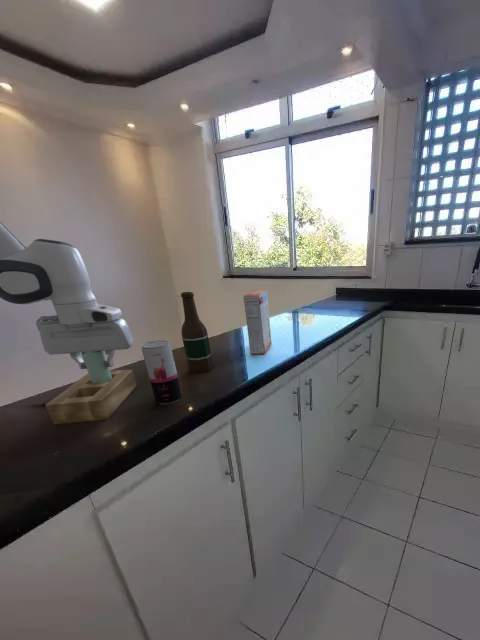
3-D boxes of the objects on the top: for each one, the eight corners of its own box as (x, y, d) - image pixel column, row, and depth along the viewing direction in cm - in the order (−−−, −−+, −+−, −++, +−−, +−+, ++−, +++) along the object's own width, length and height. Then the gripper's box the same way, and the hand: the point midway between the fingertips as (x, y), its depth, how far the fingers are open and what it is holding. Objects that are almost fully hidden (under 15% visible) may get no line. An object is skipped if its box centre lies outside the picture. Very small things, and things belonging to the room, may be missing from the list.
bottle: (90, 391, 82) (70, 335, 75) (99, 384, 86) (80, 330, 79) (110, 389, 82) (91, 333, 75) (117, 382, 86) (99, 329, 80)
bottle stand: (53, 424, 71) (45, 405, 69) (94, 388, 90) (88, 372, 88) (107, 419, 73) (100, 400, 70) (136, 385, 91) (132, 369, 89)
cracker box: (257, 343, 126) (252, 289, 117) (272, 343, 126) (268, 289, 116) (249, 354, 114) (242, 295, 104) (265, 354, 113) (260, 294, 104)
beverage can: (171, 406, 78) (157, 348, 71) (150, 403, 79) (134, 347, 73) (187, 395, 83) (175, 340, 77) (167, 393, 85) (153, 339, 78)
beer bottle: (218, 367, 102) (206, 291, 92) (200, 375, 97) (184, 294, 86) (202, 363, 106) (188, 290, 96) (183, 371, 100) (167, 293, 90)
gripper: (24, 319, 71) (48, 375, 78) (117, 313, 74) (133, 368, 80) (41, 314, 77) (62, 366, 83) (127, 309, 79) (141, 360, 85)
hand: (97, 367), depth 81 cm, fingers closed on bottle, 5 cm apart
